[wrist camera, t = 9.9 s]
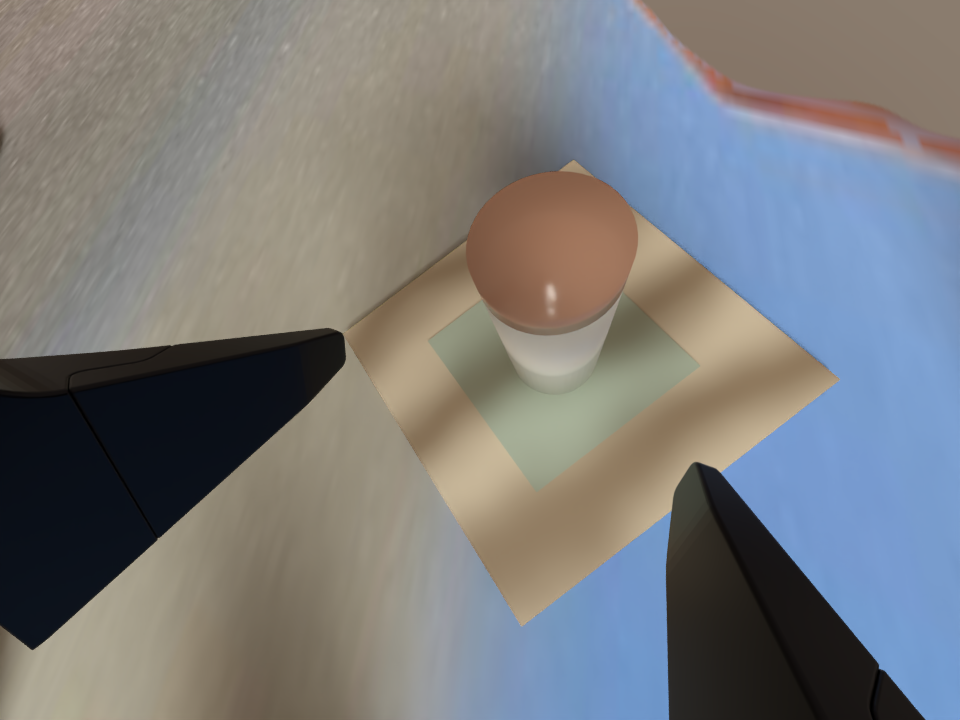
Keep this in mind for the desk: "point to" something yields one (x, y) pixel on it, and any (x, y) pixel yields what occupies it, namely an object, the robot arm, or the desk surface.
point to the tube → (553, 272)
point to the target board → (579, 411)
